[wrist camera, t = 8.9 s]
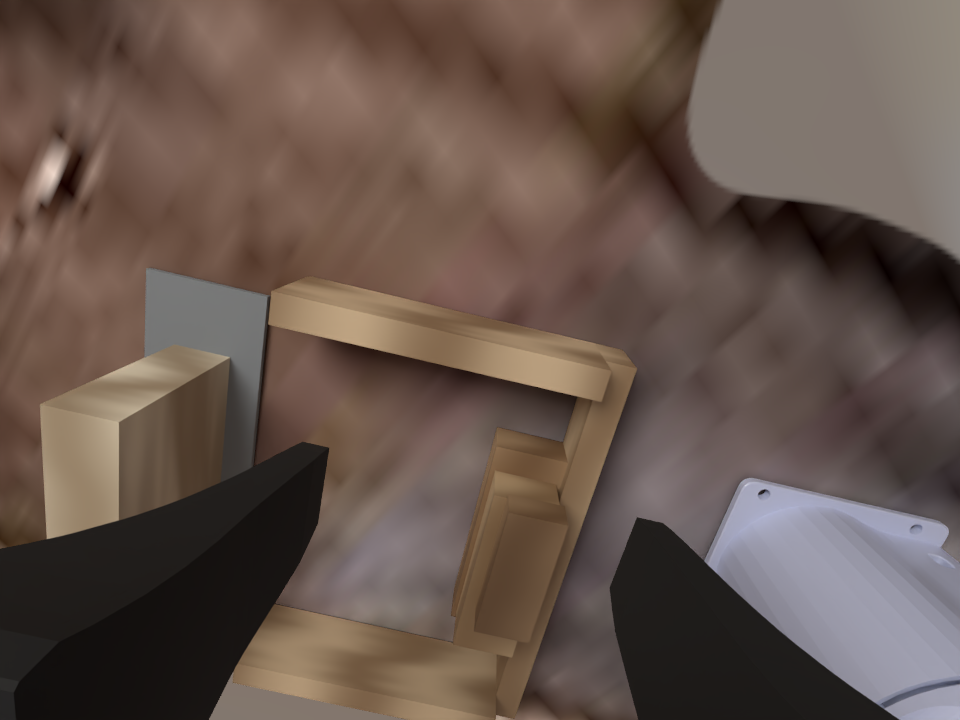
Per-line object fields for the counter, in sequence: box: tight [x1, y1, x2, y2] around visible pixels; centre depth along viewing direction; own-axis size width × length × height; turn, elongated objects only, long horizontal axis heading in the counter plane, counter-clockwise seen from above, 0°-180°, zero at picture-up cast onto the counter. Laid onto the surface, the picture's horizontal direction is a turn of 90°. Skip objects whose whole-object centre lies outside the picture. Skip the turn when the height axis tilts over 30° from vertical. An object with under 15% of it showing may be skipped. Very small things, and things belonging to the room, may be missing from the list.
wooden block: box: [40, 345, 230, 539], centre depth 20 cm, size 2×10×6 cm, turn 167°
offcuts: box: [451, 427, 569, 658], centre depth 21 cm, size 3×9×5 cm, turn 167°
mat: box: [145, 268, 270, 482], centre depth 23 cm, size 5×16×1 cm, turn 167°
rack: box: [233, 276, 637, 720], centre depth 22 cm, size 13×18×4 cm
